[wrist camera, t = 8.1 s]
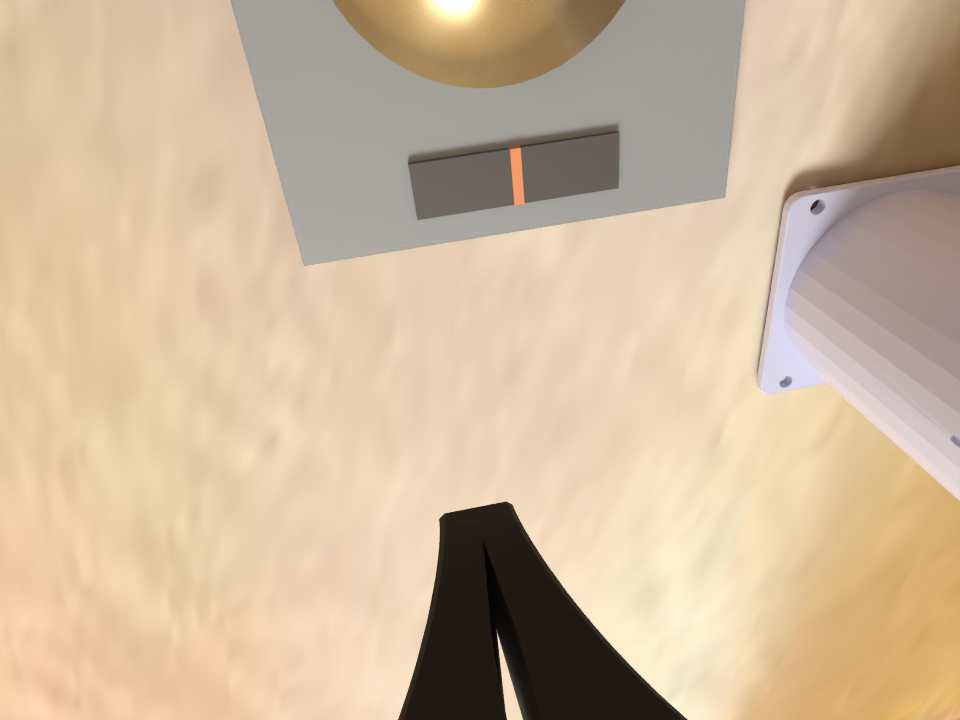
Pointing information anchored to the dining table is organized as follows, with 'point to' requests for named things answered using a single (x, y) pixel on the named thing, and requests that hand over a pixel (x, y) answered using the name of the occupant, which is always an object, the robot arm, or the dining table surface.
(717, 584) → the dining table surface
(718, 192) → the board
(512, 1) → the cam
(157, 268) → the dining table surface
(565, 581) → the dining table surface
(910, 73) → the dining table surface
